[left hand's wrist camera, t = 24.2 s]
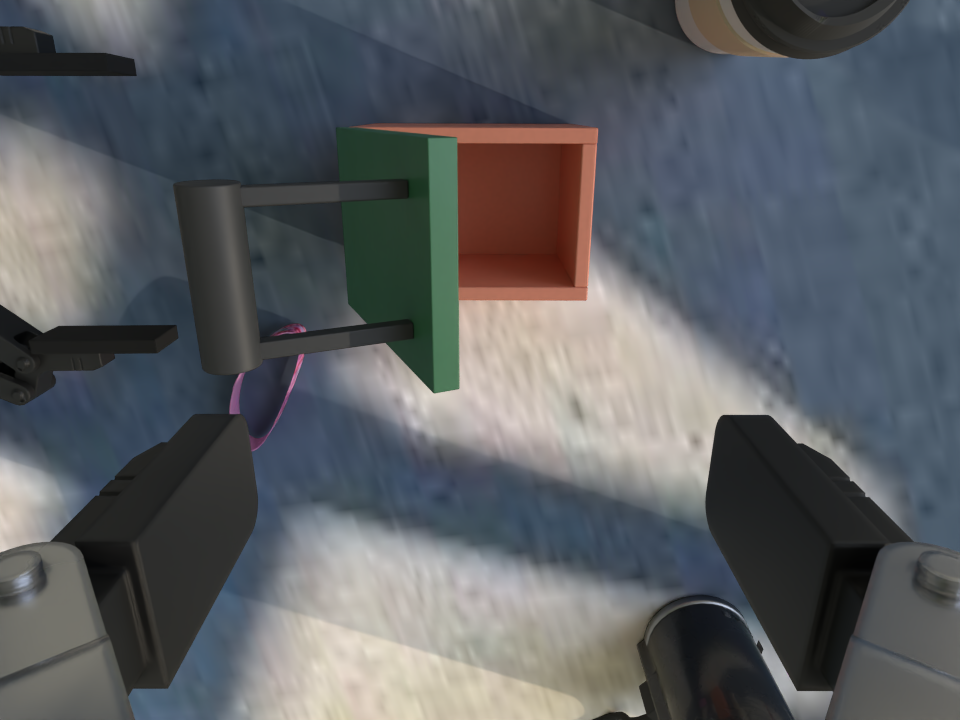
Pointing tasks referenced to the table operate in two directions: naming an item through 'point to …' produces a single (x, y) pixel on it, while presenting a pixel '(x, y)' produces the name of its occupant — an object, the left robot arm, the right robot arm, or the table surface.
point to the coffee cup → (784, 25)
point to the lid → (368, 256)
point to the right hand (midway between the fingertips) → (147, 211)
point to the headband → (234, 401)
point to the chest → (521, 207)
